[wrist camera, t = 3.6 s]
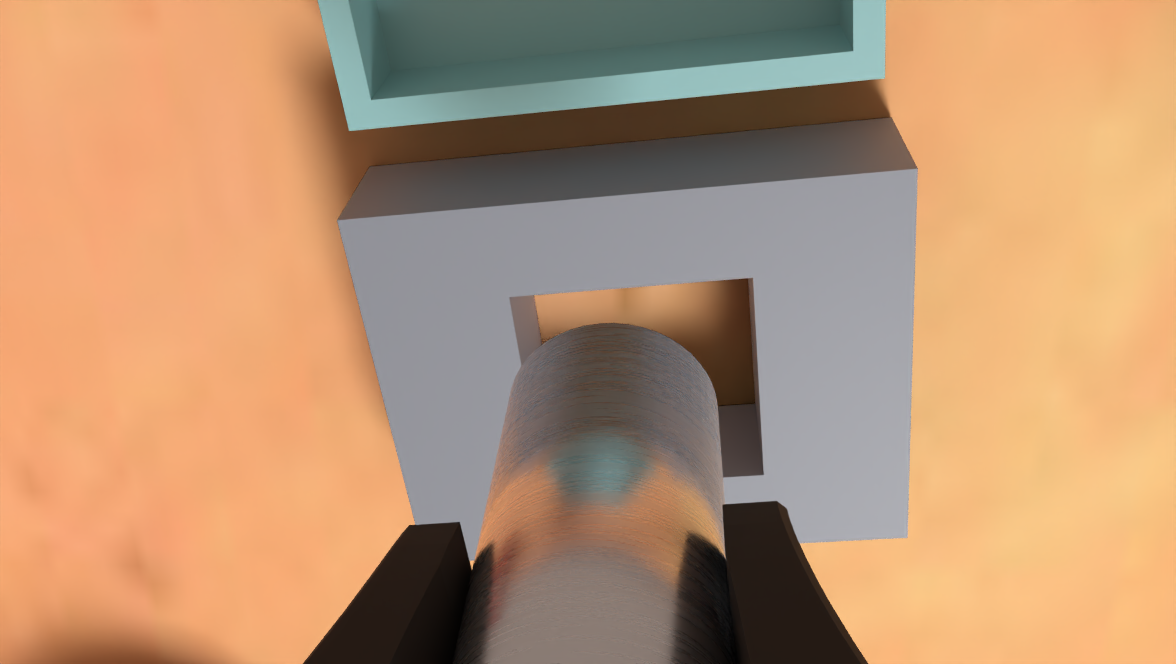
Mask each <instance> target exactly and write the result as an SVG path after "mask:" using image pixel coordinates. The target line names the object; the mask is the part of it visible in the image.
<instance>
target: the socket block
mask: <svg viewBox="0 0 1176 664" xmlns="http://www.w3.org/2000/svg"><path fill="white" fill-rule="evenodd" d="M917 172H918V168H917V167H916V165H915V163H914V161H913V159H912V157H911V155H910V153H909V151H908V149H907V147H906V145H905V143H904V141H903V139H902V137H901V135H900V133H899V131H898V129H897V127H896V125H895V123H894V121H893V119H892V117H890V118H879V119H869V120H858V121H848V122H837V123H826V124H816V125H805V126H795V127H784V128H773V129H763V130H752V131H742V132H731V133H720V134H710V135H699V136H689V137H678V138H668V139H657V140H646V141H636V142H625V143H615V144H604V145H593V146H583V147H572V148H562V149H551V150H540V151H530V152H519V153H509V154H498V155H487V156H477V157H466V158H456V159H445V160H435V161H424V162H413V163H403V164H392V165H382V166H371V167H369V168H368V170H367V172H366V173H365V175H364V177H363V178H362V180H361V182H360V183H359V185H358V187H357V188H356V190H355V192H354V193H353V195H352V197H351V198H350V200H349V201H348V203H347V205H346V206H345V208H344V210H343V211H342V213H341V215H340V216H339V218H338V220H337V222H338V226H339V230H340V234H341V238H342V241H343V245H344V249H345V253H346V257H347V261H348V265H349V269H350V272H351V276H352V280H353V284H354V288H355V292H356V296H357V300H358V304H359V307H360V311H361V315H362V319H363V323H364V327H365V331H366V335H367V338H368V342H369V346H370V350H371V354H372V358H373V362H374V366H375V369H376V373H377V377H378V381H379V385H380V389H381V393H382V397H383V401H384V404H385V408H386V412H387V416H388V420H389V424H390V428H391V432H392V435H393V439H394V443H395V447H396V451H397V455H398V459H399V463H400V466H401V470H402V474H403V478H404V482H405V486H406V490H407V494H408V498H409V501H410V505H411V509H412V513H413V517H414V521H415V525H420V524H435V523H450V522H460V525H461V529H462V533H463V537H464V541H465V545H466V549H467V553H468V557H469V560H475V555H476V550H477V546H478V541H479V537H480V532H481V527H482V523H483V518H484V513H485V509H486V504H487V499H488V495H489V490H490V485H491V481H492V476H493V471H494V467H495V462H496V457H497V453H498V448H499V443H500V439H501V434H502V429H503V425H504V420H505V415H506V411H507V406H508V401H509V397H510V392H511V388H512V385H513V382H514V379H515V377H516V375H517V373H518V371H519V370H520V368H521V366H522V365H523V364H524V362H525V361H526V360H527V358H528V357H529V356H530V355H531V354H532V353H533V352H534V351H535V350H536V349H537V348H539V347H540V346H541V345H542V341H541V335H540V329H539V323H538V317H537V311H536V305H535V299H534V295H542V294H555V293H567V292H580V291H593V290H605V289H618V288H630V287H643V286H656V285H668V284H681V283H693V282H706V281H719V280H731V279H744V278H748V287H749V305H750V323H751V340H752V358H753V375H754V393H755V404H743V405H728V406H718V416H719V430H720V443H721V457H722V470H723V484H724V497H725V504H736V503H751V502H766V501H778V502H779V503H780V504H782V505H783V506H784V507H785V508H787V511H788V514H789V518H790V521H791V524H792V526H793V529H794V532H795V534H796V537H797V539H798V541H799V543H815V542H834V541H853V540H872V539H891V538H907V536H908V500H909V463H910V427H911V390H912V354H913V318H914V281H915V245H916V208H917Z"/></svg>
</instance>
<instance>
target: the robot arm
mask: <svg viewBox="0 0 1176 664" xmlns="http://www.w3.org/2000/svg"><path fill="white" fill-rule="evenodd" d="M722 509H723V527H724V544H725V555H726V566H727V577H728V587H729V598H730V608H731V619H732V629H733V635H734V643H735V650H736V658H737V664H868V663H867V661H866V660H865V658H864V657H863V655H862V654H861V652H860V651H859V649H858V648H857V646H856V644H855V643H854V641H853V640H852V638H851V636H850V635H849V633H848V632H847V630H846V628H845V627H844V625H843V623H842V622H841V620H840V618H839V617H838V615H837V614H836V612H835V610H834V609H833V607H832V605H831V604H830V602H829V600H828V599H827V597H826V595H825V593H824V591H823V590H822V588H821V586H820V584H819V582H818V580H817V578H816V576H815V575H814V573H813V571H812V569H811V567H810V565H809V563H808V561H807V559H806V557H805V555H804V552H803V550H802V548H801V546H800V544H799V541H798V539H797V537H796V534H795V532H794V529H793V526H792V524H791V521H790V518H789V514H788V511H787V508H785V507H784V506H783V505H782V504H780V503H779V502H778V501H766V502H751V503H736V504H722ZM471 574H472V569H471V565H470V561H469V557H468V553H467V549H466V545H465V541H464V537H463V533H462V529H461V525H460V522H450V523H435V524H420V525H409V526H408V527H407V528H406V530H405V531H404V532H403V533H402V534H401V536H400V537H399V538H398V540H397V541H396V542H395V544H394V545H393V546H392V548H391V549H390V550H389V552H388V553H387V554H386V556H385V557H384V558H383V560H382V561H381V563H380V564H379V565H378V567H377V568H376V569H375V571H374V572H373V574H372V575H371V576H370V578H369V579H368V580H367V582H366V583H365V584H364V586H363V587H362V588H361V590H360V591H359V592H358V594H357V595H356V596H355V598H354V599H353V600H352V602H351V603H350V604H349V606H348V607H347V608H346V610H345V611H344V612H343V614H342V615H341V616H340V617H339V619H338V620H337V621H336V623H335V624H334V625H333V626H332V628H331V629H330V630H329V631H328V633H327V634H326V635H325V636H324V638H323V639H322V640H321V642H320V643H319V644H318V645H317V647H316V648H315V649H314V650H313V652H312V653H311V654H310V656H309V657H308V658H307V659H306V660H305V662H304V663H303V664H452V662H453V658H454V653H455V648H456V644H457V639H458V634H459V630H460V625H461V620H462V616H463V611H464V606H465V602H466V597H467V592H468V588H469V583H470V578H471Z"/></svg>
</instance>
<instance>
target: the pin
mask: <svg viewBox="0 0 1176 664" xmlns="http://www.w3.org/2000/svg"><path fill="white" fill-rule="evenodd" d="M722 504H725V497H724V484H723V470H722V457H721V443H720V430H719V416H718V404H717V399H716V393H715V391H714V388H713V385H712V382H711V380H710V378H709V376H708V374H707V372H706V371H705V370H704V368H703V367H702V365H701V364H700V363H699V361H698V360H697V359H696V358H695V357H694V356H693V355H692V354H691V353H690V352H689V351H687V350H686V349H685V348H684V347H682V346H681V345H680V344H678V343H677V342H675V341H674V340H672V339H670V338H669V337H667V336H664V335H662V334H660V333H658V332H656V331H653V330H650V329H646V328H643V327H639V326H634V325H629V324H618V323H601V324H593V325H586V326H582V327H578V328H574V329H571V330H569V331H566V332H564V333H561V334H559V335H557V336H555V337H553V338H552V339H550V340H548V341H547V342H545V343H544V344H543V345H541V346H540V347H539V348H537V349H536V350H535V351H534V352H533V353H532V354H531V355H530V356H529V357H528V358H527V360H526V361H525V362H524V364H523V365H522V366H521V368H520V370H519V371H518V373H517V375H516V377H515V379H514V382H513V385H512V388H511V392H510V397H509V401H508V406H507V411H506V415H505V420H504V425H503V429H502V434H501V439H500V443H499V448H498V453H497V457H496V462H495V467H494V471H493V476H492V481H491V485H490V490H489V495H488V499H487V504H486V509H485V513H484V518H483V523H482V527H481V532H480V537H479V541H478V546H477V550H476V555H475V560H474V564H473V569H472V574H471V578H470V583H469V588H468V592H467V597H466V602H465V606H464V611H463V616H462V620H461V625H460V630H459V634H458V639H457V644H456V648H455V653H454V658H453V662H452V664H737V658H736V650H735V643H734V635H733V629H732V619H731V608H730V598H729V587H728V577H727V566H726V555H725V544H724V527H723V509H722Z"/></svg>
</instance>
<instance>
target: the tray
mask: <svg viewBox="0 0 1176 664" xmlns="http://www.w3.org/2000/svg"><path fill="white" fill-rule="evenodd" d="M318 4H319V8H320V12H321V16H322V20H323V25H324V29H325V33H326V37H327V41H328V45H329V49H330V54H331V58H332V62H333V66H334V70H335V74H336V78H337V83H338V87H339V91H340V95H341V99H342V103H343V108H344V112H345V116H346V120H347V124H348V128H349V131H355V130H365V129H375V128H385V127H395V126H406V125H416V124H426V123H436V122H446V121H456V120H467V119H477V118H487V117H497V116H507V115H517V114H528V113H538V112H548V111H558V110H568V109H578V108H588V107H599V106H609V105H619V104H629V103H639V102H649V101H660V100H670V99H680V98H690V97H700V96H710V95H721V94H731V93H741V92H751V91H761V90H771V89H782V88H792V87H802V86H812V85H822V84H832V83H843V82H853V81H863V80H873V79H883V78H885V18H886V0H318Z"/></svg>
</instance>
